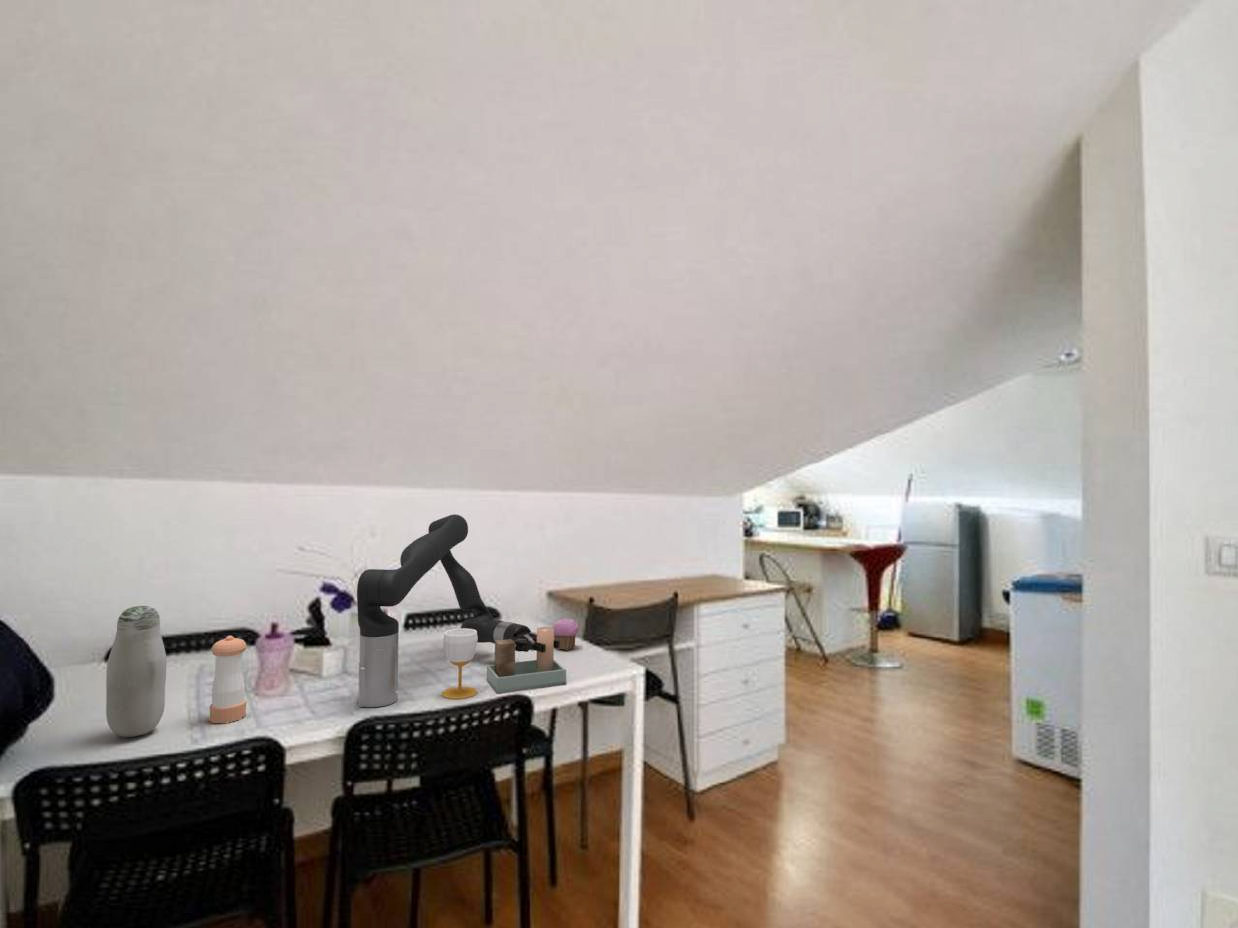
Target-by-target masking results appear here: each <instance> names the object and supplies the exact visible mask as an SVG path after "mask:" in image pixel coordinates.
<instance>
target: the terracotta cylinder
mask: <svg viewBox="0 0 1238 928" xmlns="http://www.w3.org/2000/svg"><path fill="white" fill-rule="evenodd" d="M536 634H537V642H538V643H542V644H545V645H546V651H545V652H543V653H542V652H539V651H536V659H535V660H536V669H538V670H542V671H547V670H552V669H553V668H554V660H555V659H554V658H555V657H554V656H555V651H554V649H555V648H554V628H553V626H552V627H551V626H541V627H537V628H536Z"/></svg>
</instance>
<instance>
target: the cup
mask: <svg viewBox="0 0 1238 928" xmlns="http://www.w3.org/2000/svg"><path fill="white" fill-rule="evenodd" d="M442 639H443V640H442V641H443V651H444V655H445V657H446V659H447V660H448V661H449V662H450V663H451V664H452V665H453V666H455V667H458V686H456V687H451V688H448V689H446V690H444V691H443V692H442V697H443V698H445V699H449V700H464V699H469V698H472V697H474V696H476V695H477V694H478V689H476V688H474V687H471V686H462V683H463V682H462V681H463V680H462V679H463V676H462V675H463V673H462V672H463V666H465V665H467V664H468V663H470V662H471V661H472V660H473V658H474V656H475V654H476V651H477V647H478V643H477V640H478V636H477V631H476V630H474V629H466V628H463V629H461V628H454V629H453V628H452V629H449V630H446V631H445V632H444V634H443V638H442Z"/></svg>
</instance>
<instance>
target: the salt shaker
mask: <svg viewBox="0 0 1238 928" xmlns="http://www.w3.org/2000/svg"><path fill="white" fill-rule="evenodd" d="M246 649H247V643H246V641H245V640H244V639H241V638H236V637H234V636H232V635H228V636H226V637H225V638H224V639H221V640H218V641H216V642H215V643H213V645H212V647H211V652H212V655H213V656H215V663H214V664H215V665H214V667H215V668H214V670H215V671H214V677H213V682H212V687H211V688H212V689H211V704H210V706H209V722H210V721H211V722H213V723H212V724H214V723H225V724H228V723H227V722H231V723H234V722H233V721H235V722H237V721H236V720H238V721H240V720H239V719H241V718H242V717H244V716H245V715H246V716H247V700H246V698H245V691H246V690H245V689H246V687H245V686H246V685H245V679H244V672H243V660H244V659H243V654H244V652H245V651H246ZM246 716H245V717H246ZM245 717H244V718H245ZM241 720H242V719H241ZM211 722H210V723H211Z"/></svg>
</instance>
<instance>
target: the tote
mask: <svg viewBox="0 0 1238 928" xmlns="http://www.w3.org/2000/svg"><path fill="white" fill-rule="evenodd" d="M536 660H537V659H532V660H526V661H525V660H522V661H517V662H516V661H515V675H514V676H506V677H498V676H497V675H496V673H495V664H491V665H490V664H489V665H486V681H487V683H488V684H489V685H490V687H491V688H492V690H493V691H494V692H495V693H496V695H498V694H503V693H504V694H505V693H510V692H511V693H512V692H519V691H520V692H521V691H527V690H535V689H542V688H548V687H557V686H561V685H562V686H565V685H566V684H567V670H566V668H565V667H563V665H562V664H560V663H559V662H557V661H556V660H555V659H554V668H553V669H552V670H547V671H542V670H538V669H536Z"/></svg>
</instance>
